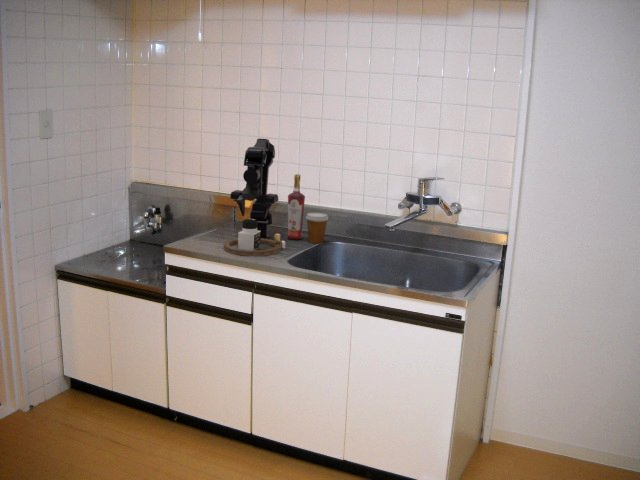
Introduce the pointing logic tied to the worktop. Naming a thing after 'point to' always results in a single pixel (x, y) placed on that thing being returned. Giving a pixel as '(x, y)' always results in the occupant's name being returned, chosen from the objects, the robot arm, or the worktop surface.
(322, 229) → the disposable coffee cup
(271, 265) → the worktop surface
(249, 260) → the worktop surface
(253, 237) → the medicine bottle
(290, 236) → the liquor
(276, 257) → the worktop surface
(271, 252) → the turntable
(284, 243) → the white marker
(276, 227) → the worktop surface
